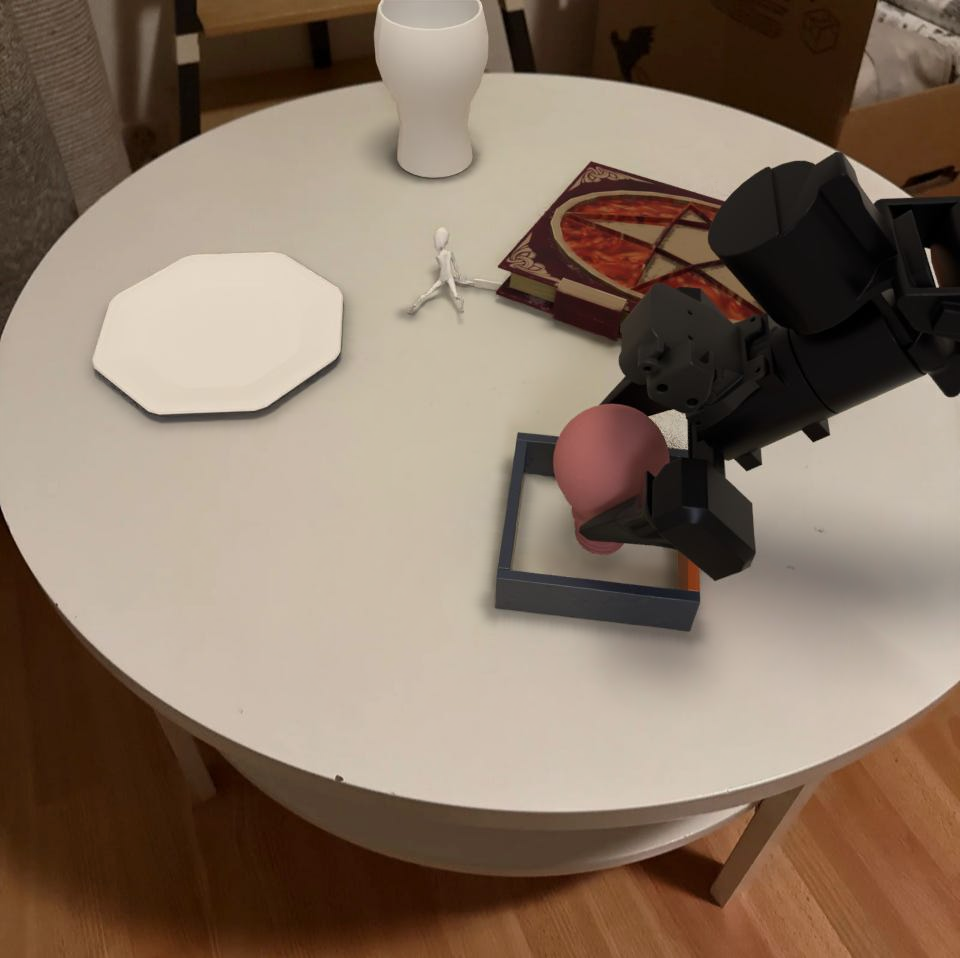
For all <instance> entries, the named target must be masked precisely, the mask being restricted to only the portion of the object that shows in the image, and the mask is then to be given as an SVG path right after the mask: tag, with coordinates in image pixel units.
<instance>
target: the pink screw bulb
mask: <svg viewBox="0 0 960 958" xmlns="http://www.w3.org/2000/svg"><path fill="white" fill-rule="evenodd" d="M558 436H559V438H558V440H557V443H556V446H555V450H554V458H553V466H554V474H555V476H554V478H555V480H556V482H557V486H558V488H559V490H560V491H561V493H562V495H563V496H564V498H565V500H566V501H567V502H568V504H569V505H570V506H571V515H572V518H573V520H574V535H575V540H576V541H577V543H578V545H579V546H580V547H582V549H583V550H585V551H586V552H589V553H590V554H594V555H598V556H608V555H611V554H614V553H616V552H618V551H619V550H621V548H622V547H623V546H624V544H625V543H613V542H601V541H590V540H587V539H586V538H585V537H583V536H582V535H581V534H580V533H579V527H580V526H581V525H583V524H584V523H586V522H587V521H589V520H590V519H592V518H593V517H595V516H597V515H598V514H600V513H602V512H604V511H606V510H608V509H610V508H612V507H614V506H616V505H618V504H620V503H622V502H624V501H625V500H627V499H629V498H631V497H633V496H635V495H637V494H638V493H639V492H640V490H641V486H642V483H643V479H644V475H645V472H646V471H647V470H648V471H649V472H650V473H651V474H653V475H654V476H655V477H656V476H657V475H658V473H659V472H660V471H661V469H662V468H663V467H664V465H665V464H668V463H670V459H669V451H668V448H669V447H668V443H667V441H666V438H665V436H664V434H663V432H662V430H661V428H660V427H659V425H658V424H657V423H656V422H654V420H653V419H651V418H650V416H649V417H648V416H647V415H645V414H644V413H642V412H640V411H639V410H637V409H634V408H632V407H629V406H625V405H620V404H603V405H599V404H598V405H594V406H591V407H589V408H586V409H585V410H583V411H581V412H580V413H578V414H577V415H575V416H574V417H573V418H572V419H571V420H570V421H569V422H567V424H566V425H565V426H564V427H563V429H562V431H561V432H560V434H559V435H558Z"/></svg>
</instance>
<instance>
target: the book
mask: <svg viewBox="0 0 960 958" xmlns="http://www.w3.org/2000/svg"><path fill="white" fill-rule="evenodd" d="M725 201H726V200H722V199H719V198H715V197H713V196H709V195H706V194H703V193H700V192H699V193H698V192H696V191H692V190H689V189H686V188H682V187H679V186H676V185H672V184H669V183H665V182H663V181H659V180H655V179H653V178H648V177H646V176H643V175H639V174H636V173H633V172H628V171H625V170H622V169H618V168H616V167H612V166H609V165H606V164H602V163H599V162H595V161H593V160H590V161H589V162H588V163H587V164H586V165H585V167H584V168H583V169H582V170H581V171H580V172H579V174H577V176H575V178H574V179H573V180H572V181H571V182H570V184H569V185H568V186H567V187H566V188H565V189H564V191H563V192H562V193H561V194H560V195H559V196H558V197H557V198H556V200H555V201H554V202H553V203H552V204H551V205H550V206H549V207H548V208H547V210H546V211H545V212H544V213H543V214H542V215H541V216H540V217H539V219H538V220H537V221H536V222H535V223H534V224H533V225H532V227H530V229H529V230H528V231H527V232H526V233H525V234H524V236H522V238H521V239H520V240H519V241H518V242H517V243H516V244H515V246H514V247H513V248H512V249H511V250H510V251H509V252H508V254H507V255H505V257H504V258H503V259H502V260H501V261H500V262H499V264H497V269H500V270H504V271H506V272H509V273H510V275H509V276H508V277H507V278H506V279H505V280H504V281H503V282H502V283H503V284H502V285H501V286H500V287H499V289H498V290H495V295H497V296H499V297H502V298H505V299H508V300H510V301H513V302H516V303H518V304H522V305H525V306H528V307H531V308H533V309H536V310H539V311H542V312H544V313H547V314H550V315H552V320H554V321H557V322H559V323H563V324H566V325H568V326H571V327H573V328H577V329H579V330H582V331H584V332H587V333H590V334H593V335H596V336H599V337H602V338H605V339H607V340H610V341H612V342H618V340H619V339H620V340H622V333H621V332H620V327H621V324H622V322H623V321H624V320H625V319H626V317H627V316H628V315H629V314H630V313H631V311H632V310H633V309H634V308H635V306H636V305H637V304H638V303H639V302H640V300H641V299H642V298H643V297H644V295H645V294H646V293H647V292H648V291H649V289H650V288H651V287H652V286H653V285H654V284H656V283H662V284H665V285H668V286H670V287H672V288H674V289H676V288H678V287H679V286H682V287H692V288H701V289H702V290H703V292H704V293H705V294H706V295H707V296H708V297H709V298H710V299H711V300H712V301H713V303H714V304H715V305H716V306H717V307H718V308H719V309H720V310H721V311H722V312H723V314H724V315H725V316H726V317H727V318H728V319H729V320H730V321H731V322H732V323H736V322H739V321H743V320H745V319H747V318H748V317H750V316H752V315H754V314H759V315H760V316H761V315H763V314H765V313H766V312H765V311H764V309H763V308H762V307H761V306H760V305H759V304H758V303H757V301H756V300H755V299H754V298H753V297H752V296H751V294H750V293H749V292H748V291H747V290H746V289H745V288H744V286H743V285H742V284H741V283H740V282H739V281H738V280H737V278H736V277H735V276H734V275H733V274H732V273H731V272H730V270H729V269H728V268H727V267H726V266H725V265H724V264H723V262H722V261H721V260H720V259H719V258H718V257H717V256H716V254H715V253H714V252H713V251H712V250H711V248H710V246H709V244H708V233H709V228H710V225H711V223H712V221H713V218H714V216H715V214H716V213H717V211H718V210H719V208H720V207H721V205H722V204H723V203H724V202H725Z"/></svg>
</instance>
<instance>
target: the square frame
mask: <svg viewBox="0 0 960 958" xmlns="http://www.w3.org/2000/svg"><path fill="white" fill-rule="evenodd" d="M559 436H560V435H548V434H541V433H540V434H539V433H538V434H537V433H530V432H522V431H521V432H520V431H517V433H516V439H515V446H514V453H513V460H512V465H511V466H512V467H511V473H510V479H509V480H510V481H509V486H508V487H509V488H508V494H507V495H508V496H507V499H506V508H505V514H504V521H503V529H502V535H501V540H500V541H501V542H500V549H499V554H498V563H497V570H496V576H495V596H494V609H497V610H504V611H512V612H513V611H514V612H522V613H530V614H531V613H532V614H539V615H545V616H547V615H548V616H555V617H564V618H573V619H582V620H589V621H598V622H606V623H613V624H623V625H630V626H631V625H632V626H640V627H649V628H657V629H658V628H659V629H666V630H674V631H683V632H691V630H692V627H693V625H694V621H695V620H696V616H697V613H698V610H699V607H700V604H701V573H700V572H701V569H700V568H698V567H697V566H696V565H695V564H694V563H693V562H691V561H690V560H689V559H688V558H687V557H685V556H684V555H683V554H682V553H681V552H679V551H678V550H676V553H677V554H676V555H677V563H676V565H677V567H676V569H677V571H676V572H677V588H668V587H660V586H651V585H643V584H634V583H627V582H626V583H625V582H617V581H607V580H600V579H591V578H582V577H574V576H573V577H572V576H565V575H556V574H547V573H539V572H530V571H521V570H513V567H514V560H515V554H516V545H517V539H518V538H517V537H518V530H519V521H520V515H521V509H522V500H523V492H524V486H525V478H526V474H530V475H539V476H540V475H541V476H549V477H550V476H551V477H555V474H554V466H553V458H554V450H555V446H556V443H557V440H558V438H559ZM668 451H669V459H670V462H672V461H674V460H676V459H678V458H680V457H686V458H688V449H684V448H674V447H668Z"/></svg>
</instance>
